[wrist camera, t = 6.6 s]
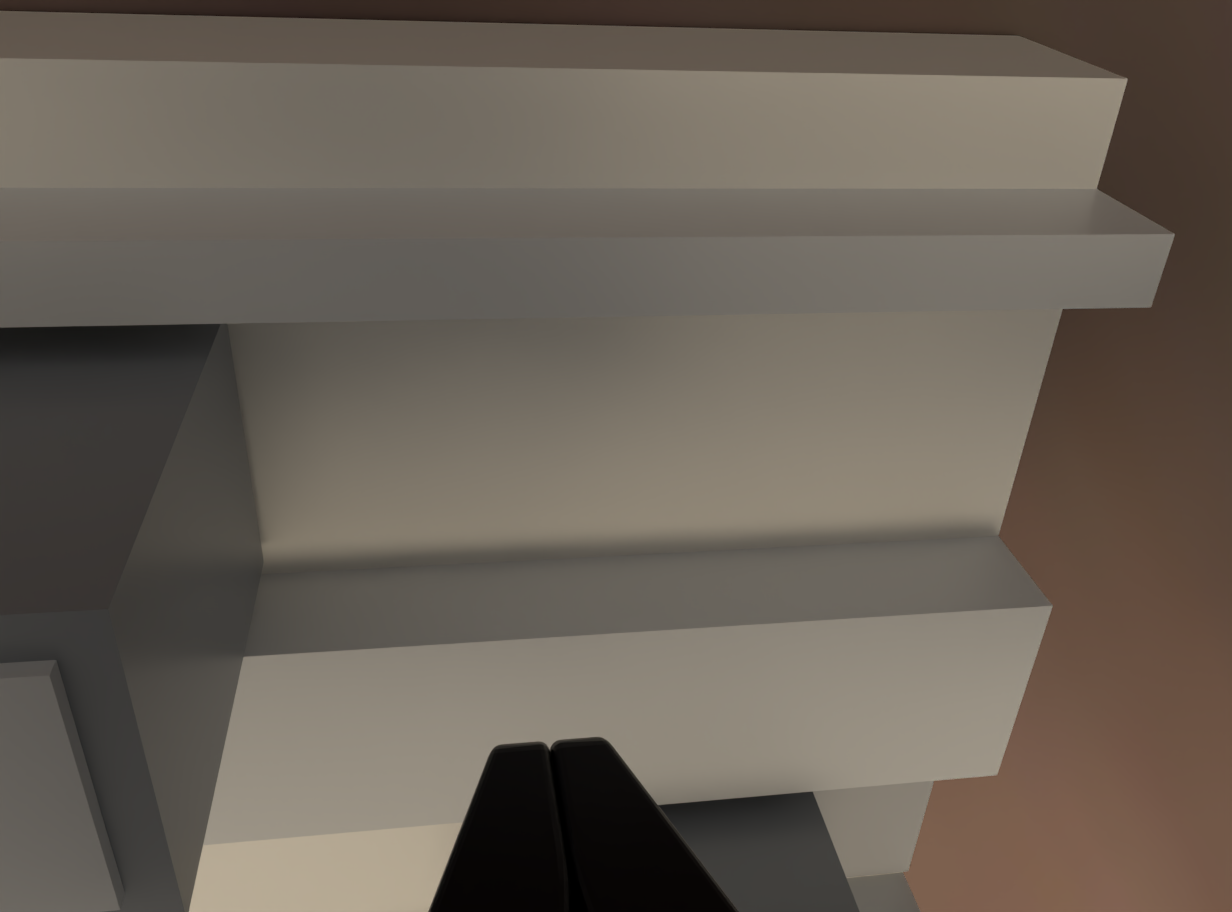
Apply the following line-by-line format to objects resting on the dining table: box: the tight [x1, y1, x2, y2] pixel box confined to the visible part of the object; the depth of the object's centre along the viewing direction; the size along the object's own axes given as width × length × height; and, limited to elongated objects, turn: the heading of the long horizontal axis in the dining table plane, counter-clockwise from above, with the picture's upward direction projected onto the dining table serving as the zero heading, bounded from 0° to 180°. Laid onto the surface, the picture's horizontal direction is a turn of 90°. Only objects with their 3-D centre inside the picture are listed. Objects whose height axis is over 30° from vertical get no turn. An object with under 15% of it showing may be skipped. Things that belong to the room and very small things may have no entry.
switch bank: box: [0, 11, 1175, 912], centre depth 15 cm, size 16×15×4 cm
